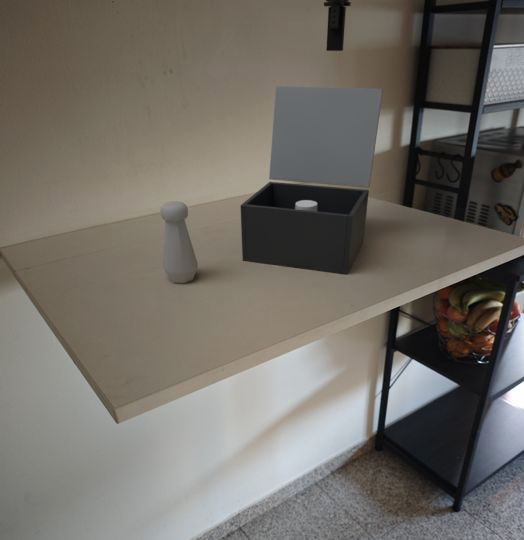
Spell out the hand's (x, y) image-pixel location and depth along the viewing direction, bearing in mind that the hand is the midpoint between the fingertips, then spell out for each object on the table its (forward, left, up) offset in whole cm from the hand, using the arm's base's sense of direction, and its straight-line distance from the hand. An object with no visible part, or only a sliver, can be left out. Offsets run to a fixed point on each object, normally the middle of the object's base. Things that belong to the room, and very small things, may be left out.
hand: (334, 50), depth 90 cm
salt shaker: (+17, +34, -32) cm, 50 cm away
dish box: (0, +16, -32) cm, 36 cm away
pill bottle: (0, +16, -32) cm, 35 cm away
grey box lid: (0, +7, -13) cm, 15 cm away
